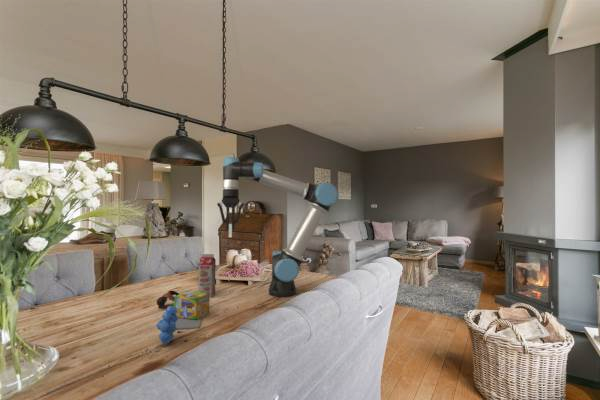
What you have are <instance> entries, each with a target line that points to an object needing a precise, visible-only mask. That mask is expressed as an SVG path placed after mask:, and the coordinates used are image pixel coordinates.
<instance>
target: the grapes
mask: <svg viewBox="0 0 600 400" xmlns="http://www.w3.org/2000/svg"><path fill="white" fill-rule="evenodd" d="M177 312H178V311H177V309H176V308H175V307H174V306H173V305H169V306H168V307H167V308H166V309H165V312H164V313H163V314H162V315H161V318H162V319H160V320H159V321H157V323H156V324H155V325H156V327H157V329H158V330H159V331H160V330H161V331H160V333H159V334H158V338H159V340H160V342H161V344H162V346H167V345H168V344H170V342H171V341H172V340H173V339H174V337H175V335H174V334H173V333H174V332H176V331H177V330H176V329H177V327H176V324H175V322H176V321H177V320H178V317H177V315H176V313H177Z"/></svg>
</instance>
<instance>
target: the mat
mask: <svg viewBox="0 0 600 400" xmlns="http://www.w3.org/2000/svg"><path fill="white" fill-rule="evenodd" d="M202 320H203V317H202V318H200V319H198V320H193V319H185V318H178V320H177V321H176V322H175V324H176V327H177V329H176V330H175V331H180V330H191V329H192V330H193V329H200V327H201V323H202ZM159 331H160V332H161V330H159Z"/></svg>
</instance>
